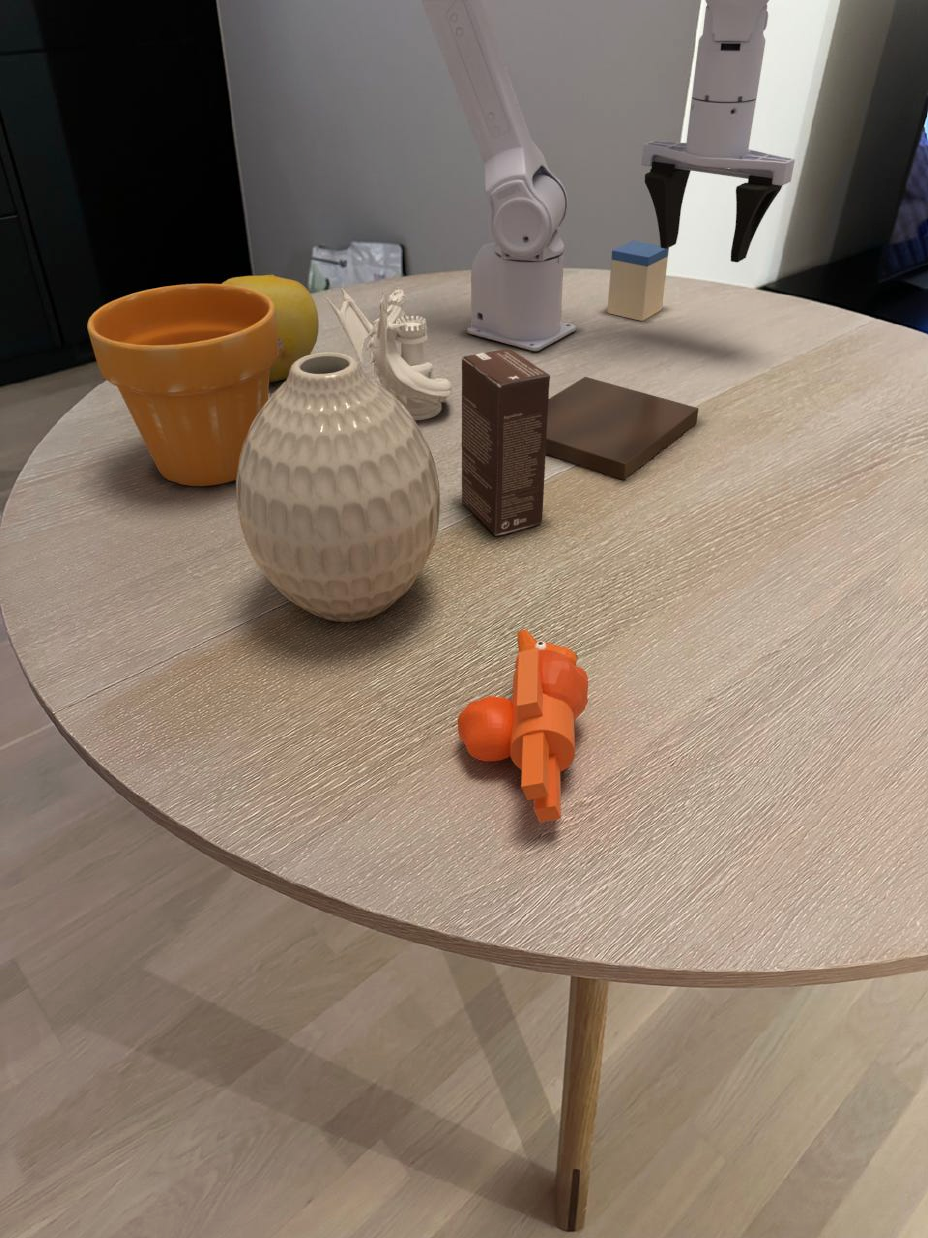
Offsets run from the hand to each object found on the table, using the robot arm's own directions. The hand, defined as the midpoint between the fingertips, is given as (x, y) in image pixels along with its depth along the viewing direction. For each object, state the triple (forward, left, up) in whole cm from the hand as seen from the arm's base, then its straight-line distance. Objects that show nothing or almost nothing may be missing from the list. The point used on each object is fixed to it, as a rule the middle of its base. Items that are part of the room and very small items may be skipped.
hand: (702, 252), depth 92 cm
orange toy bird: (+20, -59, -10) cm, 63 cm away
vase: (+2, -54, -10) cm, 55 cm away
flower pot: (-21, -47, -10) cm, 52 cm away
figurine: (-15, -30, -10) cm, 35 cm away
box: (+4, -39, -10) cm, 40 cm away
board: (+3, -22, -10) cm, 25 cm away
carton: (-10, +6, -10) cm, 15 cm away
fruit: (-31, -31, -10) cm, 45 cm away
